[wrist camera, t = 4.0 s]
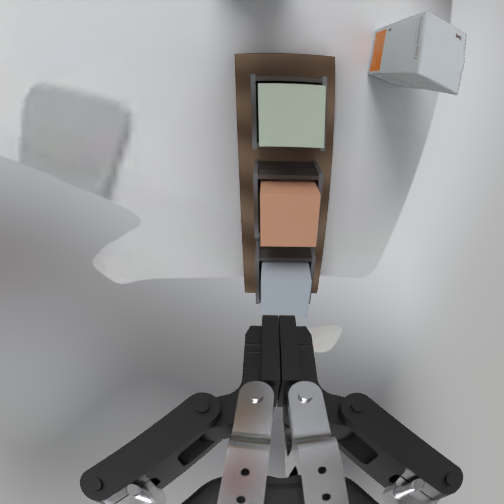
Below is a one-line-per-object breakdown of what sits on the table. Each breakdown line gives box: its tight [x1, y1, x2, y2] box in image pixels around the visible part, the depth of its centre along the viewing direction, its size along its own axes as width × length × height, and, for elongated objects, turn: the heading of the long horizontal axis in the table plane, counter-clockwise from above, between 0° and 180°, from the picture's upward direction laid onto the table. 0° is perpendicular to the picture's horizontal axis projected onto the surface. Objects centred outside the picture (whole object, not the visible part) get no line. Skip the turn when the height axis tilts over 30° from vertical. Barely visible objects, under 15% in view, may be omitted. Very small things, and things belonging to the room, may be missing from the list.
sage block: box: [258, 83, 326, 148], centre depth 22 cm, size 5×5×6 cm
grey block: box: [261, 261, 312, 317], centre depth 32 cm, size 5×5×6 cm
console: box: [235, 53, 335, 304], centre depth 29 cm, size 30×10×6 cm, turn 1°
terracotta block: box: [260, 179, 321, 247], centre depth 27 cm, size 5×5×6 cm
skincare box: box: [368, 12, 466, 95], centre depth 18 cm, size 6×4×12 cm
